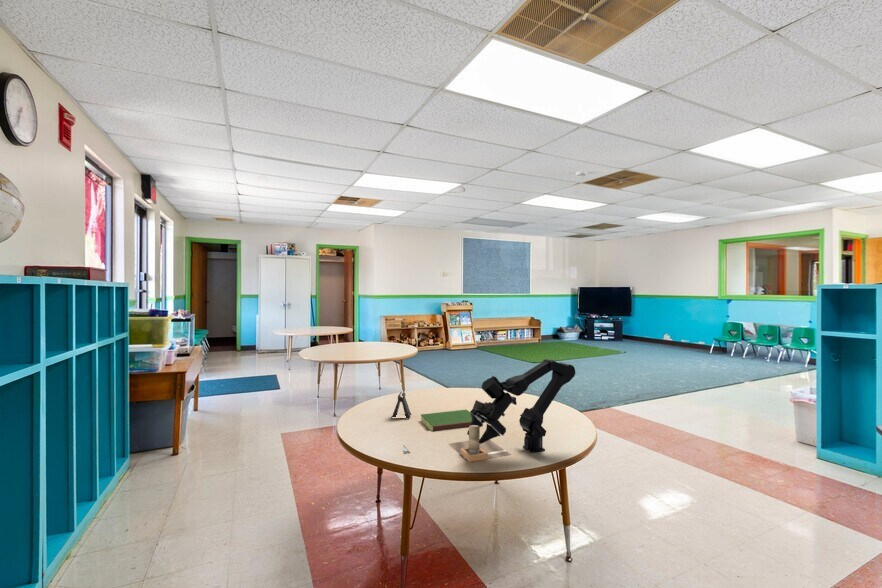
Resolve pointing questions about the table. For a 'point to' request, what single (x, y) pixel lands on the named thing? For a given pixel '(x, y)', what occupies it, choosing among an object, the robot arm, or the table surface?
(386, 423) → the table surface
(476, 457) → the socket
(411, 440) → the table surface
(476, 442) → the beige cylinder
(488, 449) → the clear acrylic sheet
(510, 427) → the table surface
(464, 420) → the hardcover book
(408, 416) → the black a-frame stand
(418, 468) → the table surface
